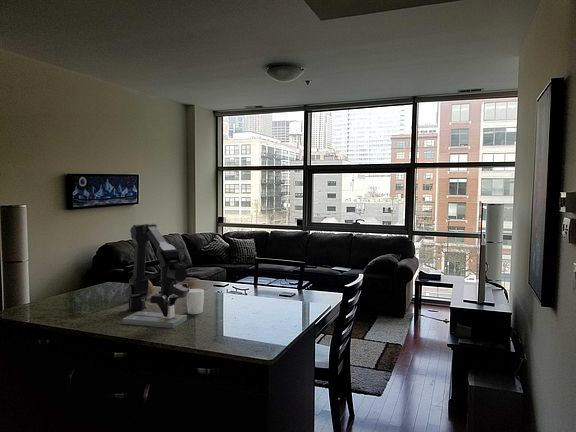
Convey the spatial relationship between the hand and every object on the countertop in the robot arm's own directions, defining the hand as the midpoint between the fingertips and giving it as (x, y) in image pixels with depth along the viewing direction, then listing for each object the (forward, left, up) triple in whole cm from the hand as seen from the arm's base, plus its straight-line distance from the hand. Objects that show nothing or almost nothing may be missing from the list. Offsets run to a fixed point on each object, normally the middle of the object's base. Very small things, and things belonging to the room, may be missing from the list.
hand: (168, 315), depth 180 cm
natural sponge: (-32, +35, -3) cm, 48 cm away
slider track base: (-6, 0, -3) cm, 7 cm away
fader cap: (0, 0, -1) cm, 1 cm away
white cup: (+4, +18, -3) cm, 19 cm away
